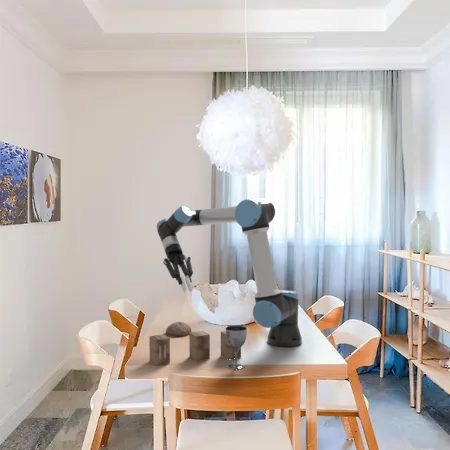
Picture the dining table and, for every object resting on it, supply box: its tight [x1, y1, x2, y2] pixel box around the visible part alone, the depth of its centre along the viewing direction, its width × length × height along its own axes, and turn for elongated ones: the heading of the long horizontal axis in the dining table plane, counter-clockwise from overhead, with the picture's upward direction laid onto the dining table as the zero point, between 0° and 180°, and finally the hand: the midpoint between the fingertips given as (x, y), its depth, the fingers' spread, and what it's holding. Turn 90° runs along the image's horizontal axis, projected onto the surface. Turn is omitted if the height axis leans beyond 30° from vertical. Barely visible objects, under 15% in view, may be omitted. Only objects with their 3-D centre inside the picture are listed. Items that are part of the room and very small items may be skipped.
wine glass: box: [225, 324, 248, 371], centre depth 180 cm, size 8×8×15 cm
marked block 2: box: [220, 330, 242, 361], centre depth 192 cm, size 6×6×10 cm
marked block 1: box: [148, 334, 171, 367], centre depth 185 cm, size 6×6×10 cm
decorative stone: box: [165, 321, 192, 338], centre depth 225 cm, size 12×12×6 cm
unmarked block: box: [188, 330, 211, 362], centre depth 190 cm, size 6×6×10 cm
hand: (187, 289), depth 208 cm, fingers open, 2 cm apart
